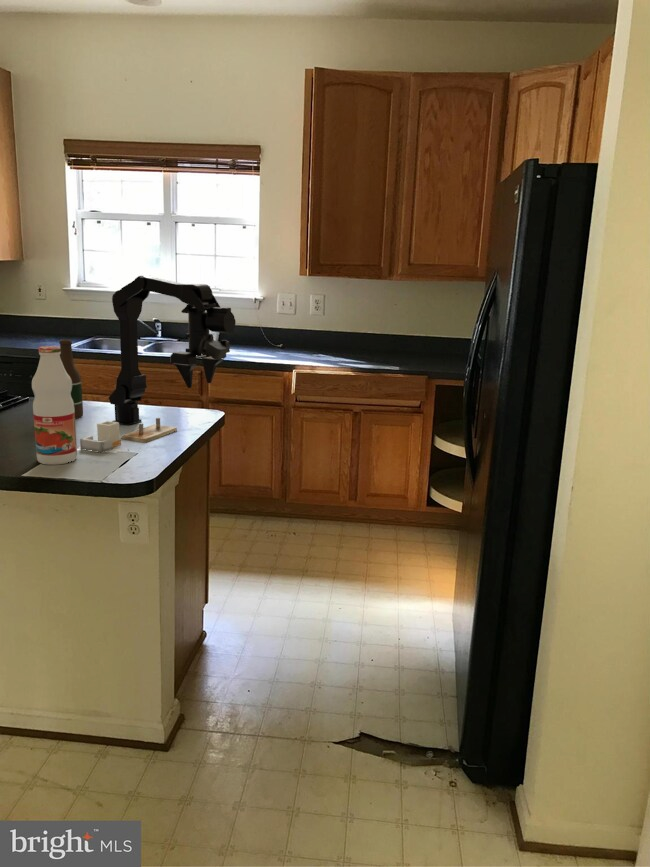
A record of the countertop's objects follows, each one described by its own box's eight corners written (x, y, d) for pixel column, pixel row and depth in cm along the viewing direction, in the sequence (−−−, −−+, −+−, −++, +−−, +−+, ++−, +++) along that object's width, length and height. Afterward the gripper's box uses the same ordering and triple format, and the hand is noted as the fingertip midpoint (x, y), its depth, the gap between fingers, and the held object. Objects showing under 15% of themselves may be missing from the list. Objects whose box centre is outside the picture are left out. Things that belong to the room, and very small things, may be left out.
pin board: (121, 439, 192) (121, 425, 191) (154, 427, 206) (153, 414, 205) (145, 442, 189) (145, 428, 188) (176, 430, 203) (176, 417, 202)
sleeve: (97, 445, 185) (96, 423, 183) (107, 442, 189) (106, 420, 187) (110, 447, 183) (109, 425, 182) (120, 444, 187) (119, 422, 186)
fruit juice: (83, 455, 176) (77, 345, 169) (67, 466, 166) (59, 350, 160) (48, 453, 176) (40, 344, 169) (29, 464, 167) (20, 348, 160)
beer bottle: (88, 416, 218) (84, 339, 212) (68, 420, 211) (62, 341, 205) (72, 412, 222) (67, 337, 216) (51, 417, 215) (46, 339, 209)
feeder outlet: (80, 449, 181) (80, 439, 180) (91, 445, 185) (90, 435, 184) (102, 452, 178) (101, 442, 178) (112, 449, 182) (111, 438, 181)
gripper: (202, 335, 181) (202, 394, 185) (241, 329, 197) (241, 383, 201) (168, 332, 186) (169, 389, 190) (209, 326, 202) (210, 379, 206)
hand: (199, 385), depth 196 cm, fingers open, 9 cm apart
